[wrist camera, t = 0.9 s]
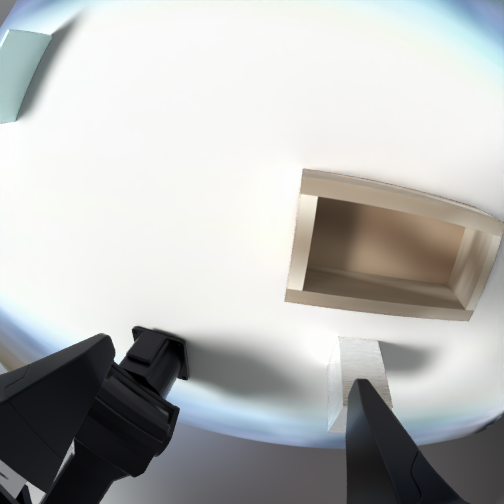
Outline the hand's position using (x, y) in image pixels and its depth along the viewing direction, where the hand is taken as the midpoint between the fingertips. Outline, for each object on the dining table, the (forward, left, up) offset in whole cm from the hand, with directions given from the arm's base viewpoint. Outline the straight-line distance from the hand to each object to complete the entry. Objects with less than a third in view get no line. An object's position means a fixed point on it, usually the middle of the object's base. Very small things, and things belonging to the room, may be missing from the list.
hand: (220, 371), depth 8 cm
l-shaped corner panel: (+20, +35, -14) cm, 43 cm away
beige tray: (+1, -9, -14) cm, 16 cm away
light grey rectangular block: (-11, -9, -14) cm, 20 cm away
